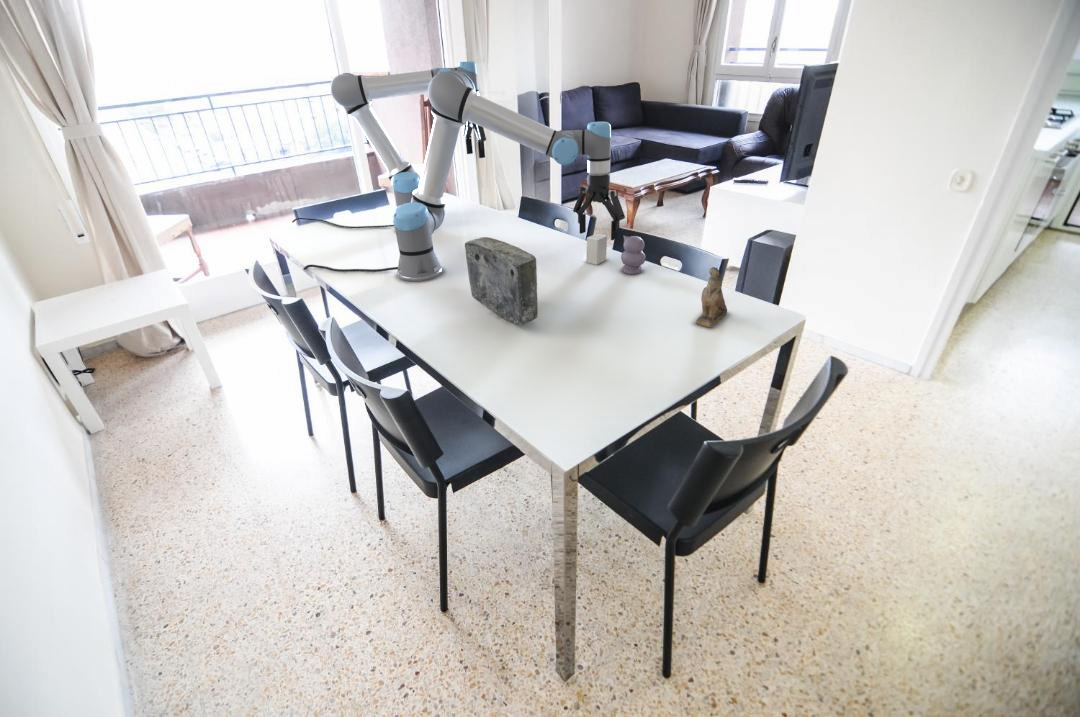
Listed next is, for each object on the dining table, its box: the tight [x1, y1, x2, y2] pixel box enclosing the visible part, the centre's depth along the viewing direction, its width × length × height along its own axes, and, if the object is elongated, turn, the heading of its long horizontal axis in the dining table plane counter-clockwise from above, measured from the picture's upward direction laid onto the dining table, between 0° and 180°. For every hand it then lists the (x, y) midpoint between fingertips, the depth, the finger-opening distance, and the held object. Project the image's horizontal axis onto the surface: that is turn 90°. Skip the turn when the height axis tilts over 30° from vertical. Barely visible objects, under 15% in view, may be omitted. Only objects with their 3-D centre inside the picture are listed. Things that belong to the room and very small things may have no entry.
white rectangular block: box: [585, 233, 608, 266], centre depth 179 cm, size 5×6×9 cm
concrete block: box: [464, 236, 539, 326], centre depth 141 cm, size 27×9×20 cm, turn 36°
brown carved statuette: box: [695, 266, 728, 328], centre depth 135 cm, size 12×6×18 cm, turn 136°
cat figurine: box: [620, 234, 646, 275], centre depth 168 cm, size 9×8×12 cm
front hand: (598, 235), depth 176 cm, fingers open, 13 cm apart
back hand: (475, 155), depth 225 cm, fingers open, 13 cm apart
